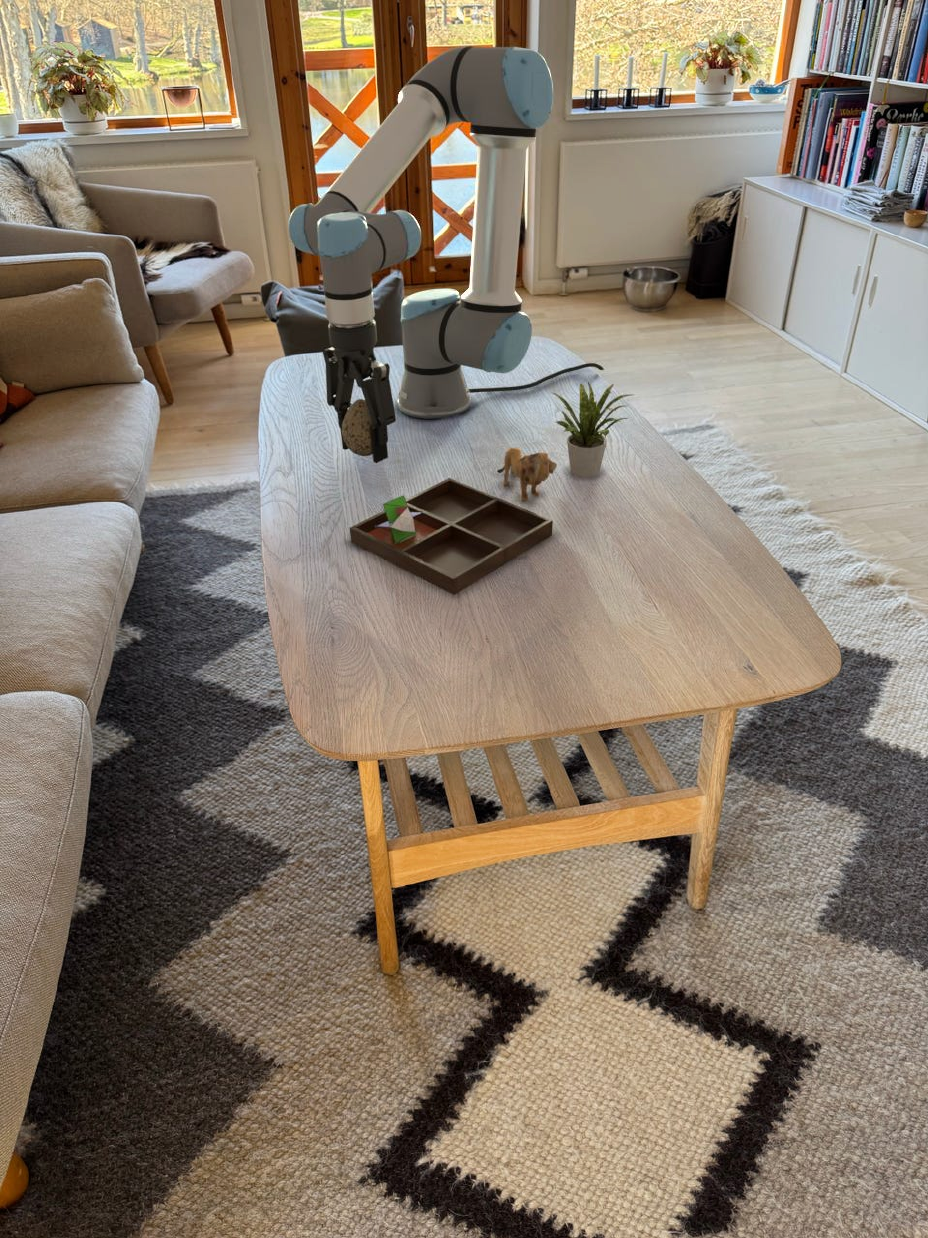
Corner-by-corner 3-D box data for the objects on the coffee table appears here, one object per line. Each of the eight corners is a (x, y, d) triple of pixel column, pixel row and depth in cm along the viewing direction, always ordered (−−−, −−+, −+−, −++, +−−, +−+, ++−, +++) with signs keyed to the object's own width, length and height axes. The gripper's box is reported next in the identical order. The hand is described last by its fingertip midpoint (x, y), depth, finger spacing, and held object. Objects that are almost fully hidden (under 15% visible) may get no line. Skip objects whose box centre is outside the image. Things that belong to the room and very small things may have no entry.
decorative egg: (381, 442, 166) (375, 388, 160) (391, 459, 160) (386, 404, 154) (341, 449, 164) (334, 394, 158) (349, 466, 158) (343, 411, 153)
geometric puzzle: (362, 520, 152) (377, 495, 146) (396, 506, 156) (412, 481, 149) (386, 556, 151) (403, 533, 145) (419, 541, 155) (437, 517, 148)
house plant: (647, 478, 169) (656, 390, 159) (586, 498, 163) (591, 409, 153) (597, 449, 179) (602, 366, 169) (537, 468, 173) (539, 382, 163)
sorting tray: (449, 491, 166) (449, 477, 164) (552, 535, 153) (552, 520, 151) (350, 542, 152) (349, 527, 151) (454, 595, 139) (453, 579, 138)
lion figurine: (559, 501, 162) (561, 453, 157) (535, 509, 160) (536, 461, 155) (508, 470, 172) (508, 424, 167) (484, 478, 170) (484, 431, 165)
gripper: (413, 327, 145) (421, 462, 158) (328, 301, 156) (343, 430, 170) (377, 340, 141) (389, 478, 154) (292, 313, 152) (310, 444, 165)
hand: (365, 452), depth 162 cm, fingers closed on decorative egg, 7 cm apart
